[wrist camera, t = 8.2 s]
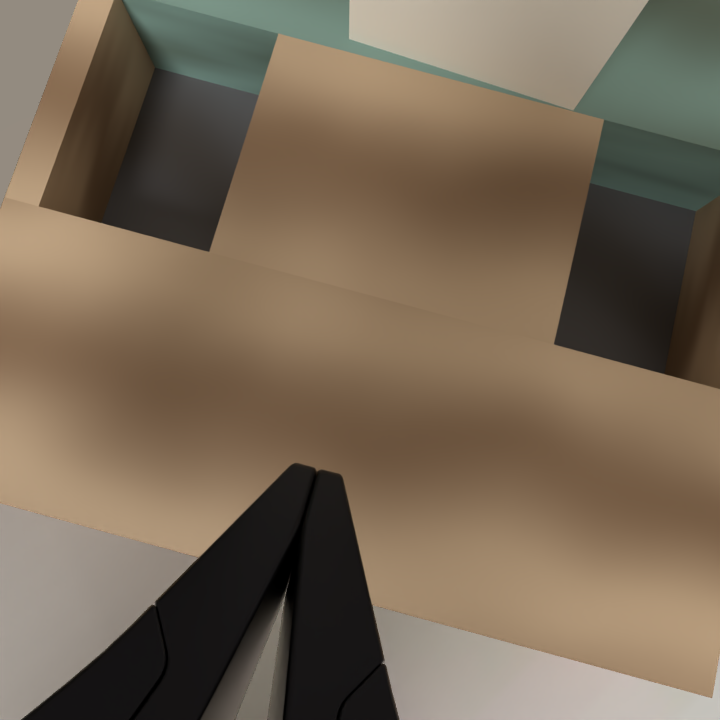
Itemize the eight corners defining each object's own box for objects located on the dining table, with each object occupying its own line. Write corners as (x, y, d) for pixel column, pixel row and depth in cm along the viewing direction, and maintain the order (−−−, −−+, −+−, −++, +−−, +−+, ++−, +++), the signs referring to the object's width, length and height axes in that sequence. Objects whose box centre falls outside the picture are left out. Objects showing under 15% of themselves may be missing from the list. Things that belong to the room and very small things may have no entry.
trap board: (637, 647, 20) (712, 697, 16) (-13, 469, 20) (-100, 475, 16) (754, 27, 23) (840, -61, 19) (196, -119, 23) (166, -236, 19)
